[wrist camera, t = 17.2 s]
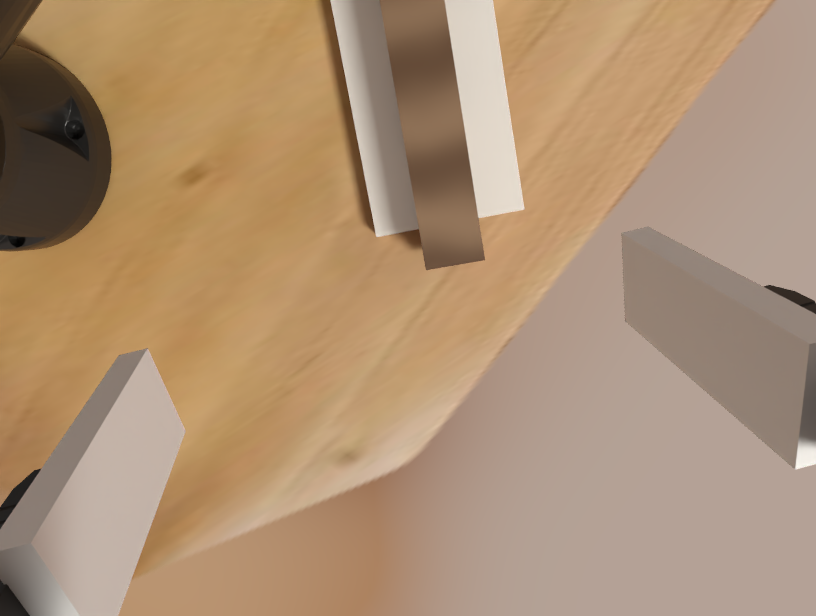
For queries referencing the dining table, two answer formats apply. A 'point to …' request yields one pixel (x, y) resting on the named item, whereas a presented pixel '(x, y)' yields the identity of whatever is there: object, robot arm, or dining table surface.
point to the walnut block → (433, 130)
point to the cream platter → (381, 118)
